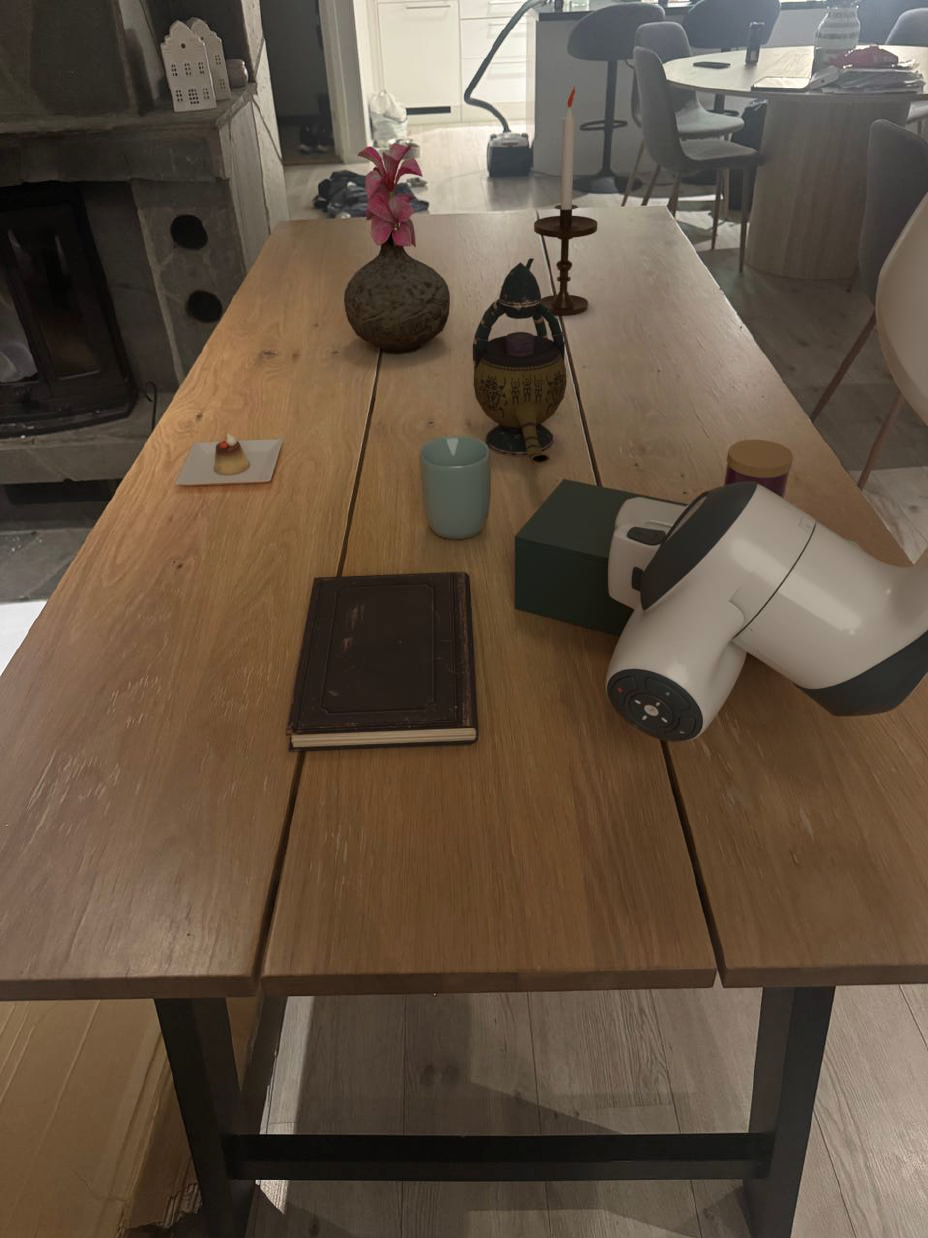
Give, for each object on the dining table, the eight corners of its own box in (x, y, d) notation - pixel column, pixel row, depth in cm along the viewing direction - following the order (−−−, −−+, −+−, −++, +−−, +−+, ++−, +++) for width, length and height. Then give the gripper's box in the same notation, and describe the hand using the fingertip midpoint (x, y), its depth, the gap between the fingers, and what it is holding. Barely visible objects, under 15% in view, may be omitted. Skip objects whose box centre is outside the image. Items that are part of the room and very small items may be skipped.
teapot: (551, 410, 132) (556, 239, 118) (589, 494, 112) (600, 300, 98) (467, 416, 131) (462, 245, 117) (490, 502, 111) (487, 308, 97)
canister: (773, 570, 88) (798, 445, 80) (760, 600, 84) (786, 472, 76) (716, 558, 90) (736, 434, 82) (701, 586, 86) (721, 460, 78)
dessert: (175, 492, 116) (167, 457, 113) (195, 449, 125) (188, 416, 122) (271, 488, 116) (265, 453, 113) (284, 445, 125) (279, 412, 122)
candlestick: (604, 304, 168) (617, 83, 147) (571, 321, 161) (580, 92, 141) (555, 294, 174) (561, 79, 153) (520, 310, 167) (522, 87, 146)
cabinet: (700, 580, 97) (711, 508, 91) (664, 648, 88) (674, 573, 82) (561, 547, 102) (563, 478, 97) (514, 608, 94) (514, 536, 88)
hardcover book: (289, 752, 78) (285, 732, 77) (316, 595, 96) (314, 577, 95) (478, 744, 78) (478, 724, 77) (470, 589, 96) (469, 570, 95)
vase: (367, 372, 145) (347, 163, 128) (336, 337, 159) (313, 143, 141) (466, 354, 150) (459, 150, 133) (427, 321, 163) (417, 132, 146)
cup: (492, 547, 103) (490, 466, 97) (422, 549, 103) (416, 468, 97) (491, 512, 109) (490, 434, 103) (425, 513, 109) (420, 435, 103)
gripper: (858, 586, 68) (882, 501, 78) (594, 528, 76) (647, 457, 85) (840, 653, 72) (865, 564, 81) (590, 591, 79) (641, 516, 89)
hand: (751, 509), depth 84 cm, fingers closed on canister, 5 cm apart
